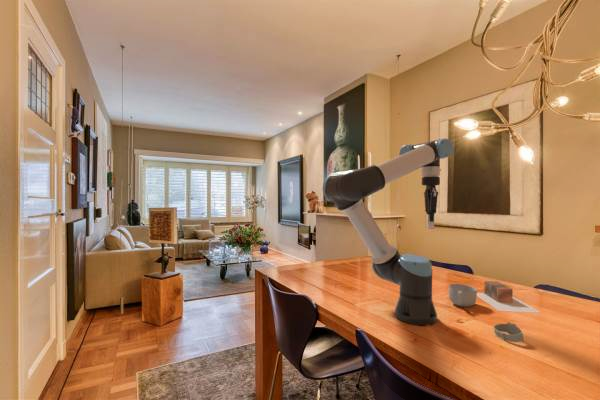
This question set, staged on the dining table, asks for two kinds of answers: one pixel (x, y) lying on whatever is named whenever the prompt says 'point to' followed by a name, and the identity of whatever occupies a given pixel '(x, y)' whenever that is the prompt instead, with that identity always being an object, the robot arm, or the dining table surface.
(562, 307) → the dining table surface
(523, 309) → the mat
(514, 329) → the wristwatch
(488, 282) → the walnut block
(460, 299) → the teacup
